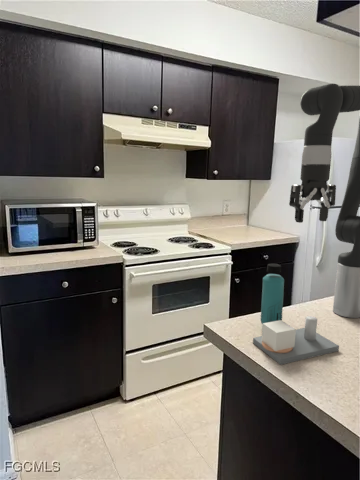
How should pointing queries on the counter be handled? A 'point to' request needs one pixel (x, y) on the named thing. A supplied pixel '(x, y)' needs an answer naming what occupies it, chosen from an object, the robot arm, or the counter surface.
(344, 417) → the counter surface
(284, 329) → the off-white matte cube
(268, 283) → the beverage bottle
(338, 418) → the counter surface
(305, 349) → the post board
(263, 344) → the tan flat disc
